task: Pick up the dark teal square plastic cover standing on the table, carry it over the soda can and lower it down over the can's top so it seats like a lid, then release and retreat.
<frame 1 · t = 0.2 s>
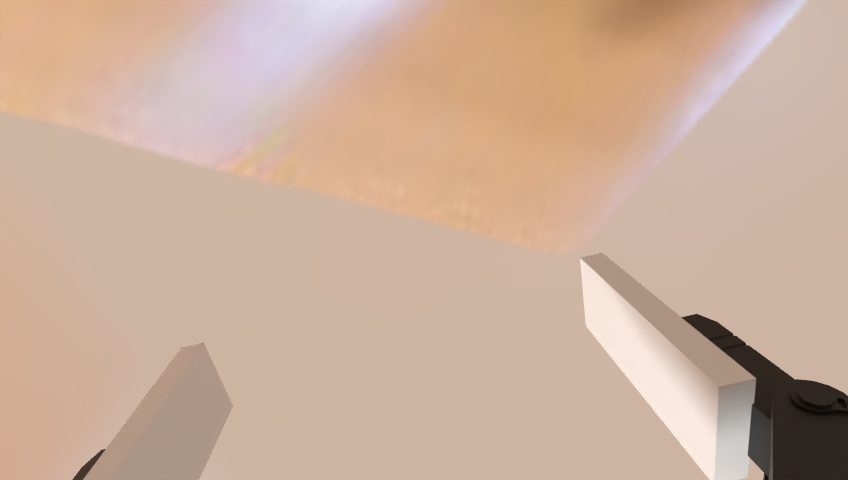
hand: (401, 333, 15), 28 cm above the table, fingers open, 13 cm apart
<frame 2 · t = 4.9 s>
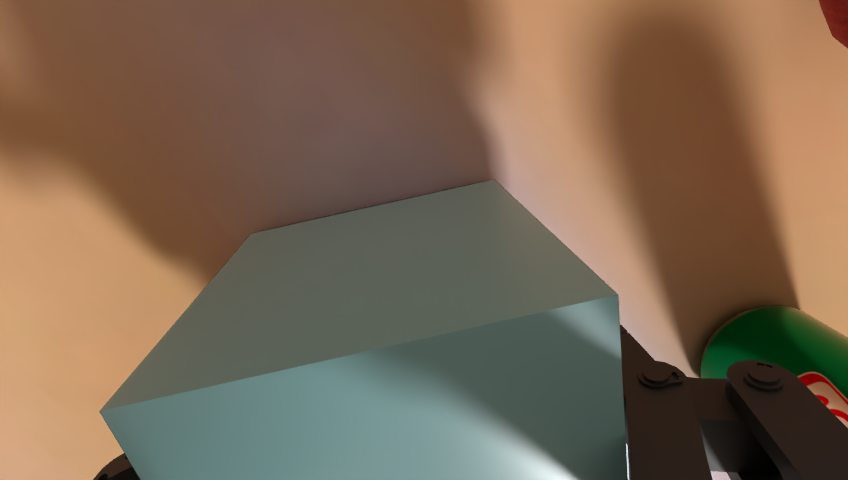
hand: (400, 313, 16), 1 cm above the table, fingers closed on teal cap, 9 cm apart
soda can: (744, 347, 19), on the table
teal cap: (400, 312, 17), on the table, touching gripper
when the fingers open (6 cm above the table, at t = 10.8 s): teal cap drops 2 cm, resting on soda can.
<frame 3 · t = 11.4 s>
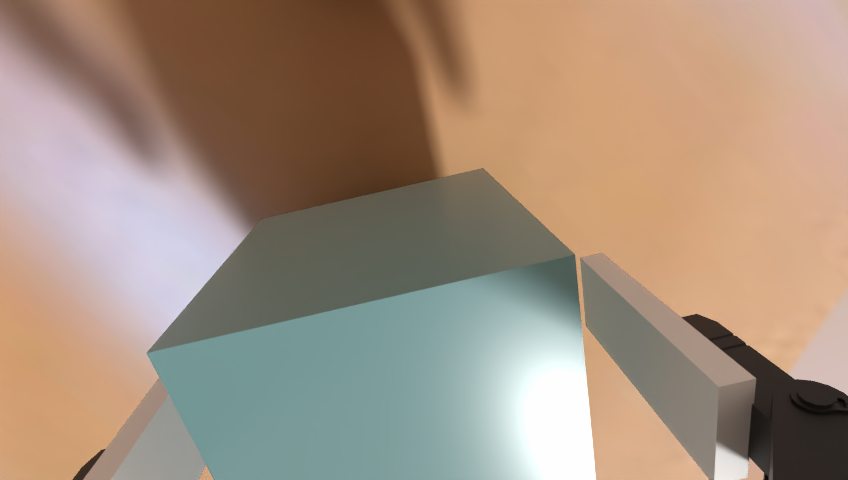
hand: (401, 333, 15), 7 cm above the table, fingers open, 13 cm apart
teal cap: (398, 291, 18), point 4 cm above the table, touching soda can
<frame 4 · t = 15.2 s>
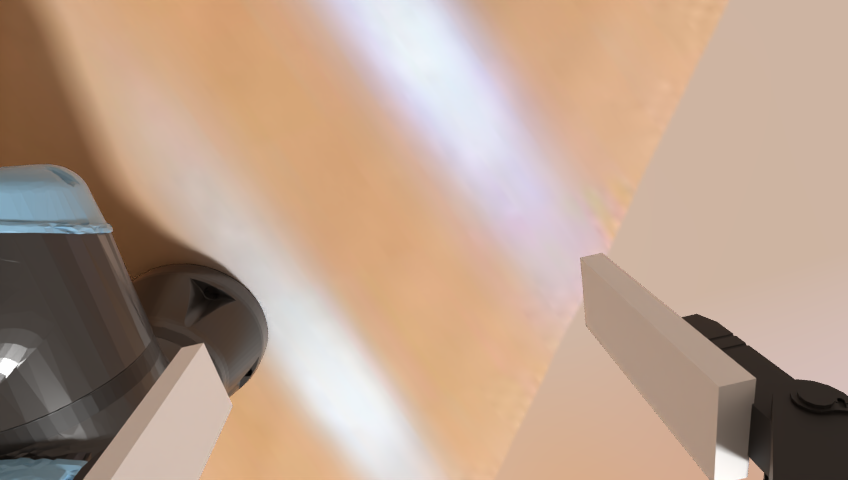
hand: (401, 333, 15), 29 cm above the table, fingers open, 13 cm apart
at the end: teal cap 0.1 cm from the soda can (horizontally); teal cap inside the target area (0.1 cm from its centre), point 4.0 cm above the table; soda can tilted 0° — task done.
